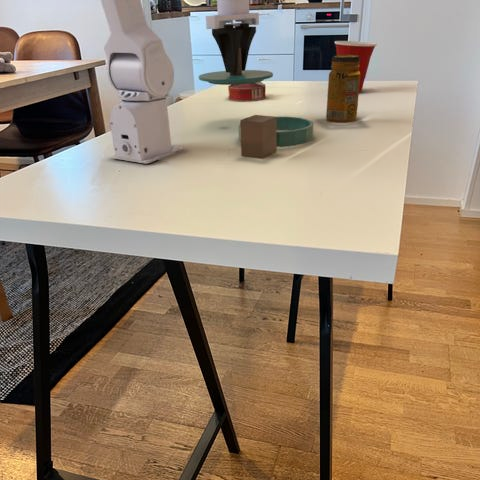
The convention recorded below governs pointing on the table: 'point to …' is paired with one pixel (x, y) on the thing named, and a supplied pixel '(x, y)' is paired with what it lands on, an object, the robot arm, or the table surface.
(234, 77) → the lid
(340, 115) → the condiment
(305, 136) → the tin
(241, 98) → the canned food
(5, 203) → the table surface
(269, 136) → the block
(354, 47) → the plastic cup
